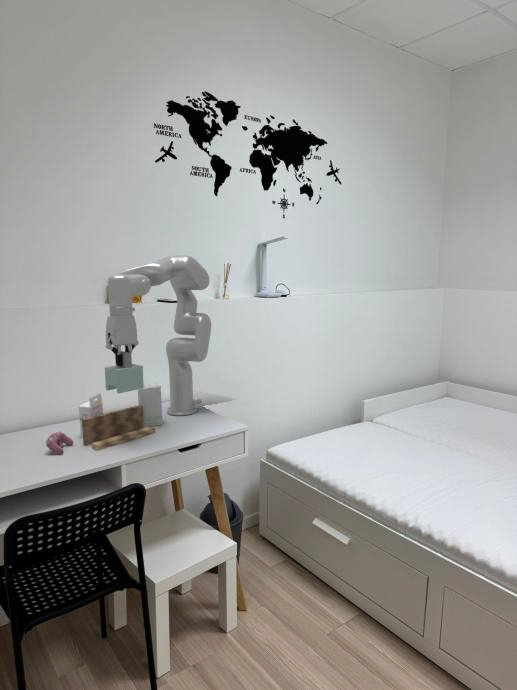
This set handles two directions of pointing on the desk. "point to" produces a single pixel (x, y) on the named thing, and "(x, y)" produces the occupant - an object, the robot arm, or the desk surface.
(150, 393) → the skincare box
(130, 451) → the desk surface
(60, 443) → the video game controller
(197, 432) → the desk surface
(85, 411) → the ink cartridge box
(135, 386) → the mint green block
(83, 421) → the curved brown board
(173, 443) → the desk surface
